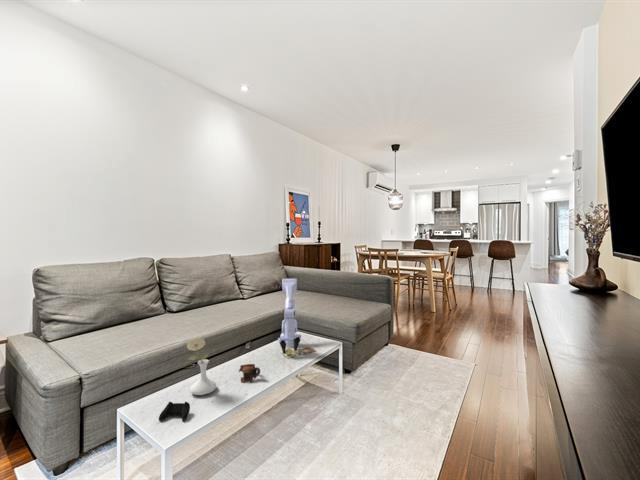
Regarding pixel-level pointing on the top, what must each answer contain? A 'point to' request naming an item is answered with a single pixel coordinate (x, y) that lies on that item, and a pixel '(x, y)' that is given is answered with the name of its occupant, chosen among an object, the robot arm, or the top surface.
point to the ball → (288, 351)
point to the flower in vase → (203, 383)
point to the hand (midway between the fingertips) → (289, 351)
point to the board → (299, 352)
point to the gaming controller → (175, 410)
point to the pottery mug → (249, 372)
